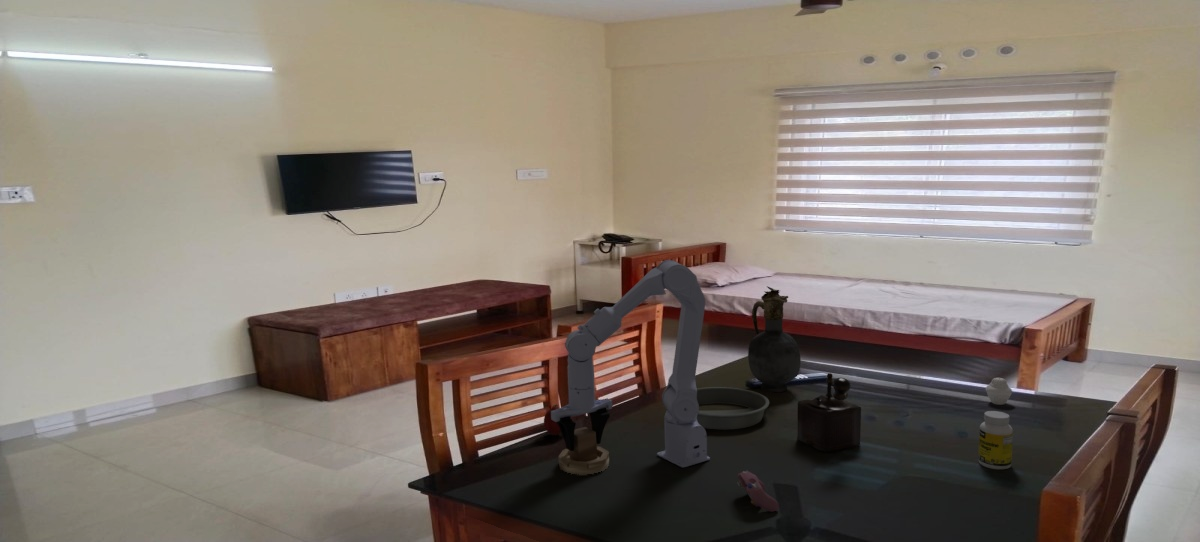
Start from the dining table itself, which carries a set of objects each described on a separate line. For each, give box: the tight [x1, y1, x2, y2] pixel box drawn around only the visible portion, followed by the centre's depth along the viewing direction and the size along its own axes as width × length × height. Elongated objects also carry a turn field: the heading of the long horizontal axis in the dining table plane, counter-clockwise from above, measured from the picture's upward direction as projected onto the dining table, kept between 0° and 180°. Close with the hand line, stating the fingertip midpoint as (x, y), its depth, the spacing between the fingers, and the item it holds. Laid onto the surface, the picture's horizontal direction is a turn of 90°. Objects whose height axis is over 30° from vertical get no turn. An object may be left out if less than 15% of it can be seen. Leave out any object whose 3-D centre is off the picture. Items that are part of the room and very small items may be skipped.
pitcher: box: [747, 286, 802, 393], centre depth 215 cm, size 11×19×30 cm, turn 19°
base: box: [557, 445, 610, 476], centre depth 163 cm, size 11×11×2 cm
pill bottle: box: [978, 410, 1014, 471], centre depth 156 cm, size 6×6×11 cm
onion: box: [543, 403, 562, 437], centre depth 182 cm, size 6×6×8 cm
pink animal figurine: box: [736, 469, 780, 513], centre depth 142 cm, size 10×5×7 cm, turn 5°
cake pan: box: [697, 386, 770, 430], centre depth 193 cm, size 25×25×4 cm
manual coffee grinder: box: [796, 372, 862, 453], centre depth 169 cm, size 16×11×18 cm
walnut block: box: [569, 426, 598, 462], centre depth 163 cm, size 4×4×6 cm
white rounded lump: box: [985, 377, 1013, 406], centre depth 196 cm, size 6×6×7 cm
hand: (583, 446), depth 163 cm, fingers open, 6 cm apart
